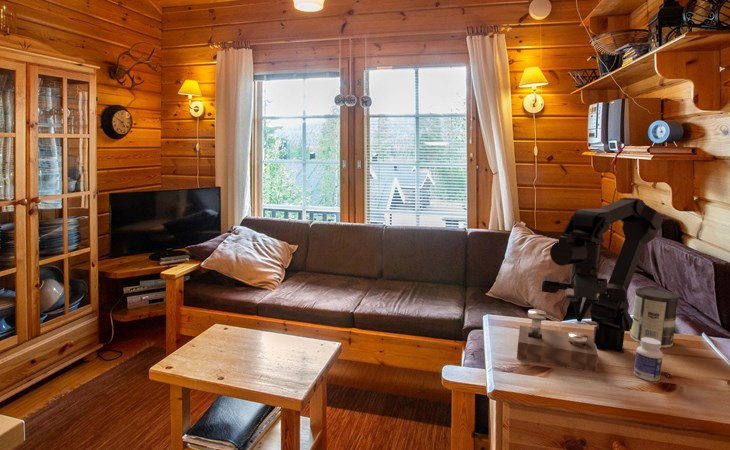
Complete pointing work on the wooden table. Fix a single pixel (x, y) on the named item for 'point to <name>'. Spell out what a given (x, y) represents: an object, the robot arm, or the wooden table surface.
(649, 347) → the pill bottle
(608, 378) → the wooden table surface
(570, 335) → the near plunger
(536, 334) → the far plunger
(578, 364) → the block
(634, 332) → the coffee can
